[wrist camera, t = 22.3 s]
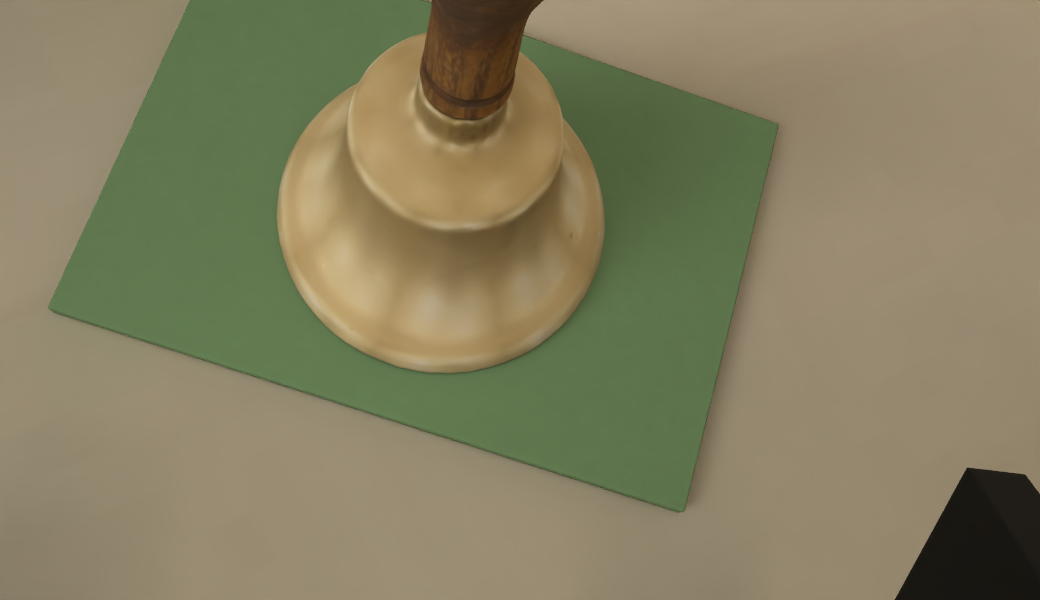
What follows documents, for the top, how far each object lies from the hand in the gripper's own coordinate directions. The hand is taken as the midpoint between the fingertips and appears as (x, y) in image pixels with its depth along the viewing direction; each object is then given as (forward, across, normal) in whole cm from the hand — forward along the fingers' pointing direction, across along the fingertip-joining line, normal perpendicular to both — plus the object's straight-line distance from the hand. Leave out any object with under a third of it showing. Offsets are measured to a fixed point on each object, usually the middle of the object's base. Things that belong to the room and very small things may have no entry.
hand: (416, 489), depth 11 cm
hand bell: (+13, 0, -3) cm, 13 cm away
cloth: (+14, 0, -3) cm, 14 cm away
